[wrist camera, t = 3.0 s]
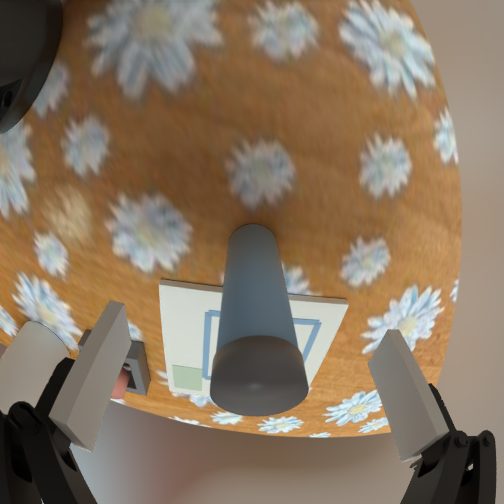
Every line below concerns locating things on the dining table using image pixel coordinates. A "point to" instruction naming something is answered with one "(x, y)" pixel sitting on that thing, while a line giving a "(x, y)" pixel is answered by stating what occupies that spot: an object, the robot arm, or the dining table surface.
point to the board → (207, 323)
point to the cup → (29, 364)
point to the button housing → (132, 366)
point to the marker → (256, 331)
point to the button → (121, 384)
